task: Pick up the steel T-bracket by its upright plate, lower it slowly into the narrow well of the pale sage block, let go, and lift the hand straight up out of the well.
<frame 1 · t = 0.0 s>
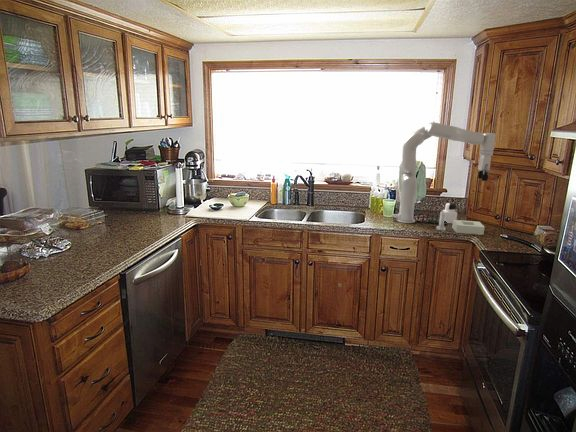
hand: (482, 179, 257), 31 cm above the worktop, tool pointing down, fingers open, 9 cm apart
bracket: (440, 229, 256), on the worktop
well block: (467, 230, 253), on the worktop
container: (448, 222, 274), on the worktop
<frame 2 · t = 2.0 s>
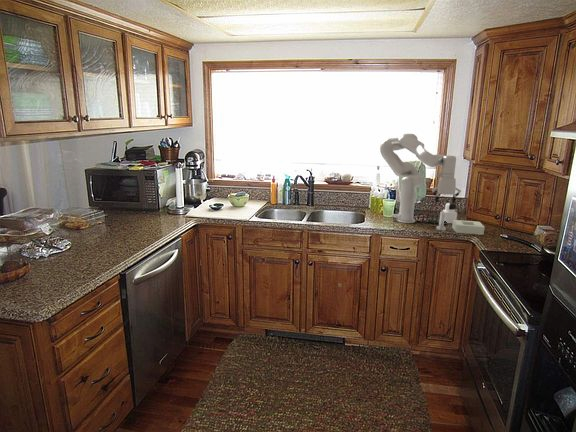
hand: (444, 202, 251), 17 cm above the worktop, tool pointing down, fingers open, 9 cm apart
nothing on the worktop moved.
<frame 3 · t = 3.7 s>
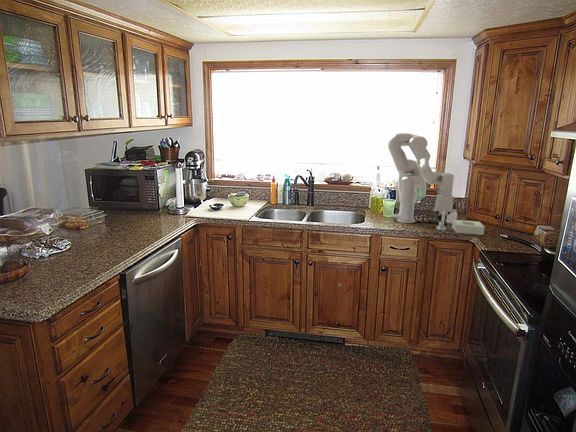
hand: (441, 221, 255), 5 cm above the worktop, tool pointing down, fingers closed on bracket
bracket: (440, 228, 256), on the worktop, touching gripper
everything else where it was.
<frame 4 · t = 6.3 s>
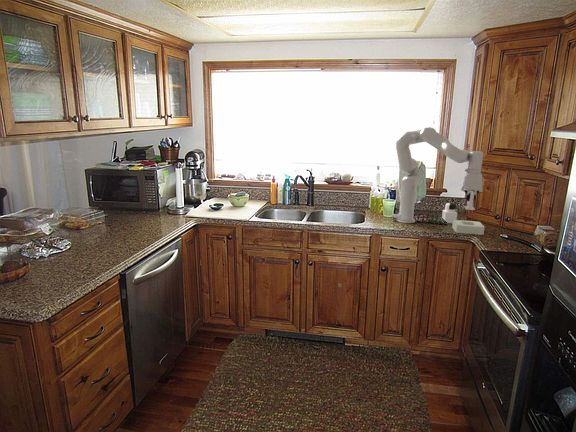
hand: (470, 200, 248), 20 cm above the worktop, tool pointing down, fingers closed on bracket
bracket: (469, 208, 249), point 14 cm above the worktop, touching gripper
everything else where it was.
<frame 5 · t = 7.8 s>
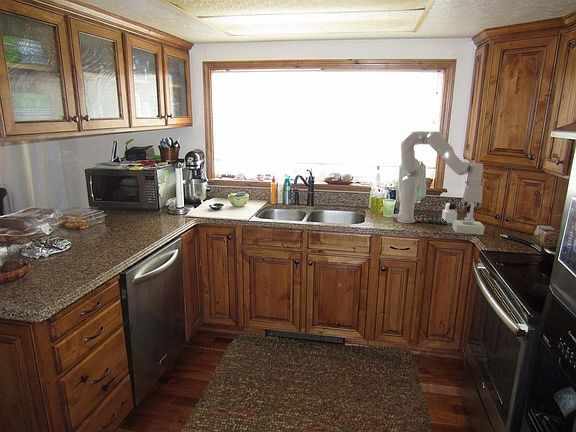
hand: (470, 212, 250), 12 cm above the worktop, tool pointing down, fingers closed on bracket
bracket: (469, 220, 251), point 7 cm above the worktop, touching gripper
everything else where it was.
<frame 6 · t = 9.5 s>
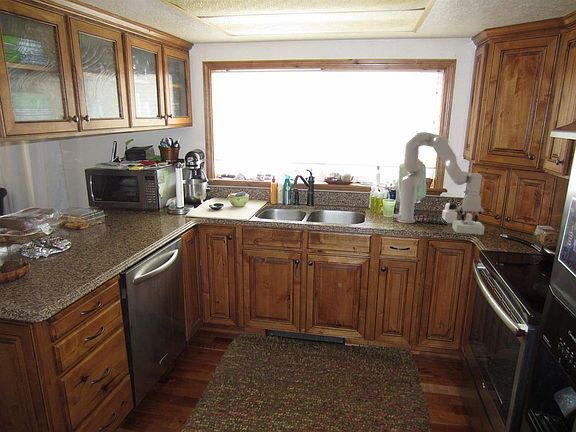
hand: (468, 220, 251), 7 cm above the worktop, tool pointing down, fingers open, 6 cm apart
bracket: (467, 231, 253), resting in well block
everything else where it was.
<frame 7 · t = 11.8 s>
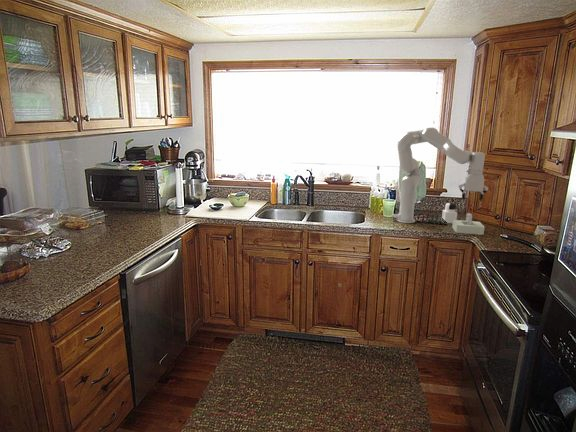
hand: (471, 199, 248), 20 cm above the worktop, tool pointing down, fingers open, 9 cm apart
nothing on the worktop moved.
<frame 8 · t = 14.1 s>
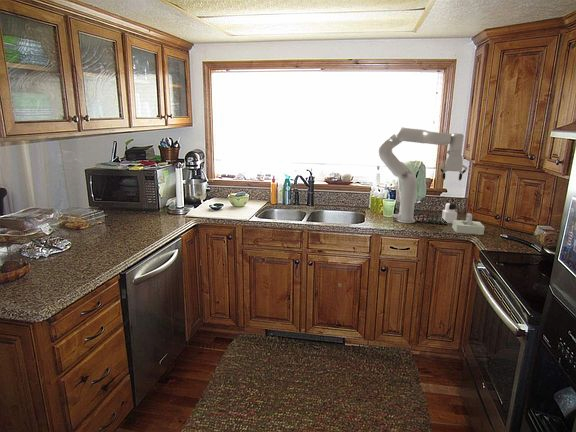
hand: (451, 179, 259), 30 cm above the worktop, tool pointing down, fingers open, 9 cm apart
nothing on the worktop moved.
at the end: bracket 0.1 cm off-centre on the well block, point 0.0 cm above the well block's base; bracket tilted 0°; the gripper is holding nothing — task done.
